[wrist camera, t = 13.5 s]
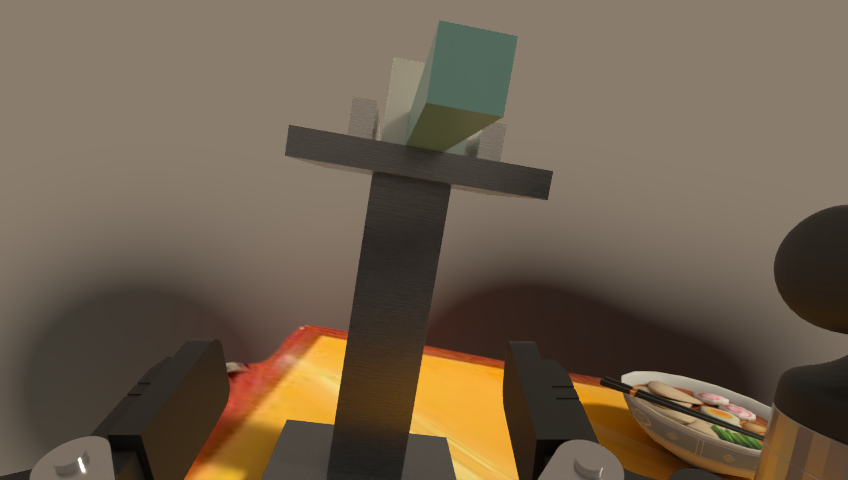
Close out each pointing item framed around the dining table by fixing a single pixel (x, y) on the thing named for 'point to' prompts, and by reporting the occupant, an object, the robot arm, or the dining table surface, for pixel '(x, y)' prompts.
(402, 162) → the stand
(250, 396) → the dining table surface
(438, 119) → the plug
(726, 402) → the ramen bowl
